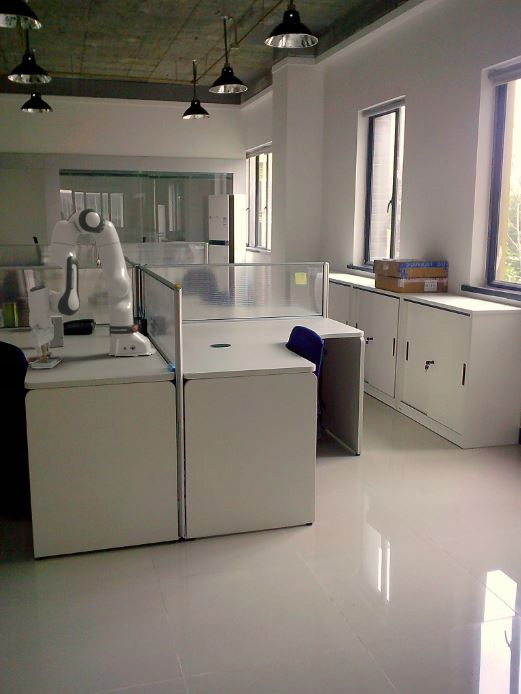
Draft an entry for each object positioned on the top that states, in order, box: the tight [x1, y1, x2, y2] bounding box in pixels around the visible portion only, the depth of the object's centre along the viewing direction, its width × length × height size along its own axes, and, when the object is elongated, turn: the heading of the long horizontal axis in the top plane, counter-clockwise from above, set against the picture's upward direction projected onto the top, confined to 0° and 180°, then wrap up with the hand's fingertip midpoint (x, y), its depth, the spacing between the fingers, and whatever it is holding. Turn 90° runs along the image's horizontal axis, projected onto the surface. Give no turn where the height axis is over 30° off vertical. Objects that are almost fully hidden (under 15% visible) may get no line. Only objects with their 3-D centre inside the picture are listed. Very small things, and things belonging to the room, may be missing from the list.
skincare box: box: [50, 315, 65, 348], centre depth 348 cm, size 8×7×16 cm
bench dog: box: [27, 355, 40, 364], centre depth 309 cm, size 6×3×3 cm, turn 89°
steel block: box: [46, 351, 53, 357], centre depth 321 cm, size 6×5×2 cm
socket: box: [47, 356, 62, 362], centre depth 310 cm, size 6×6×2 cm
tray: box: [30, 359, 57, 367], centre depth 302 cm, size 9×8×2 cm
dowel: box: [40, 344, 47, 363], centre depth 301 cm, size 3×3×10 cm
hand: (43, 353), depth 301 cm, fingers open, 8 cm apart
